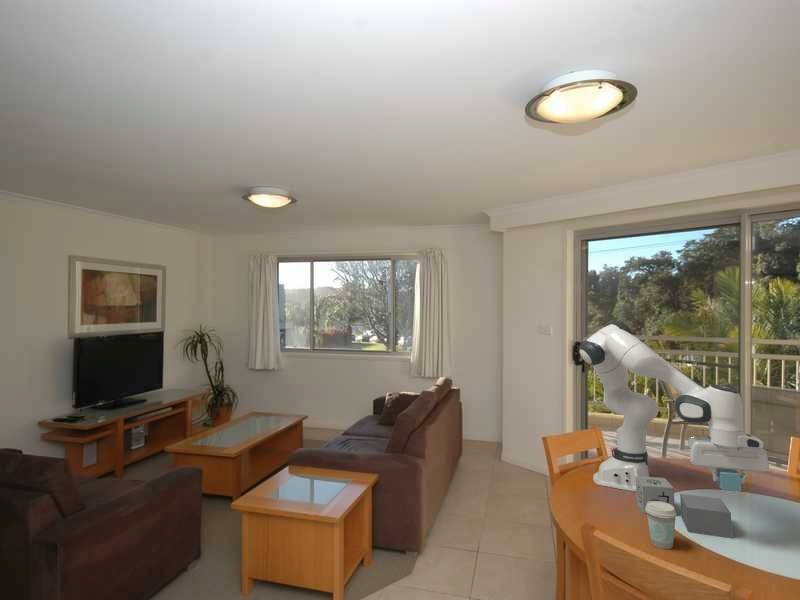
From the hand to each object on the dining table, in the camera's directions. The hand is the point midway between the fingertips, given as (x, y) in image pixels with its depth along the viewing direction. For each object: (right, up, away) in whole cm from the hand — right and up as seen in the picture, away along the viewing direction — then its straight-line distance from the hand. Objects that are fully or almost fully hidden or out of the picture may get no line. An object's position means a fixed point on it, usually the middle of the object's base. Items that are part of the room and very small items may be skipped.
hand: (728, 482), depth 139 cm
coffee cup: (-21, -20, 0) cm, 29 cm away
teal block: (0, -2, 0) cm, 2 cm away
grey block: (0, -19, +10) cm, 22 cm away
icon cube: (-9, -20, +24) cm, 33 cm away
